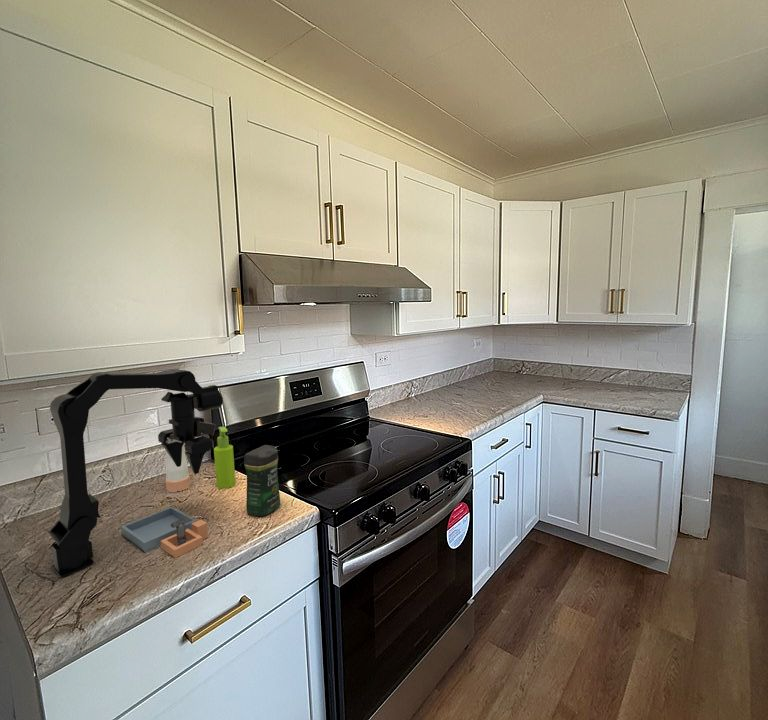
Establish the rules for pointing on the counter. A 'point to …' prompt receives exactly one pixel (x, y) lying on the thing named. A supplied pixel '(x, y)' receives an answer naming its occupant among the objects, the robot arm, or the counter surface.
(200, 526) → the tan rectangular frame
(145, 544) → the tray
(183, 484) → the pepper shaker
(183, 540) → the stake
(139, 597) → the counter surface
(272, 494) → the coffee jar
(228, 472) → the soap dispenser
